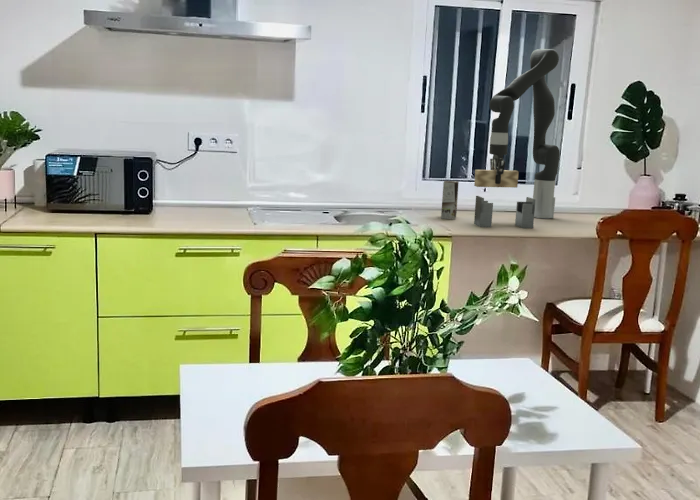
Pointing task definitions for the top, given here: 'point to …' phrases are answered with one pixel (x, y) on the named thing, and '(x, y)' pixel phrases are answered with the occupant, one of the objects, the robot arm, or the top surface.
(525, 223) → the bracket
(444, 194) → the coffee box
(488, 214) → the bracket
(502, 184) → the rail
